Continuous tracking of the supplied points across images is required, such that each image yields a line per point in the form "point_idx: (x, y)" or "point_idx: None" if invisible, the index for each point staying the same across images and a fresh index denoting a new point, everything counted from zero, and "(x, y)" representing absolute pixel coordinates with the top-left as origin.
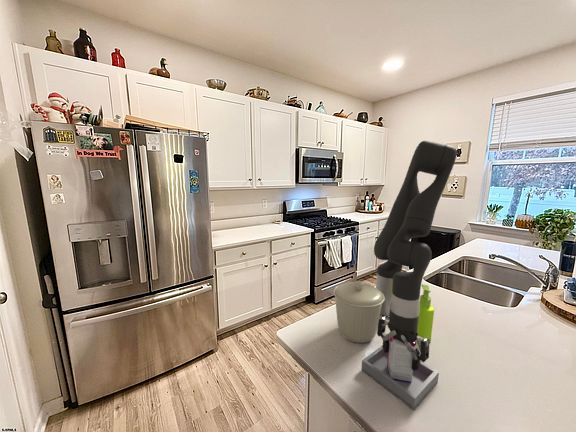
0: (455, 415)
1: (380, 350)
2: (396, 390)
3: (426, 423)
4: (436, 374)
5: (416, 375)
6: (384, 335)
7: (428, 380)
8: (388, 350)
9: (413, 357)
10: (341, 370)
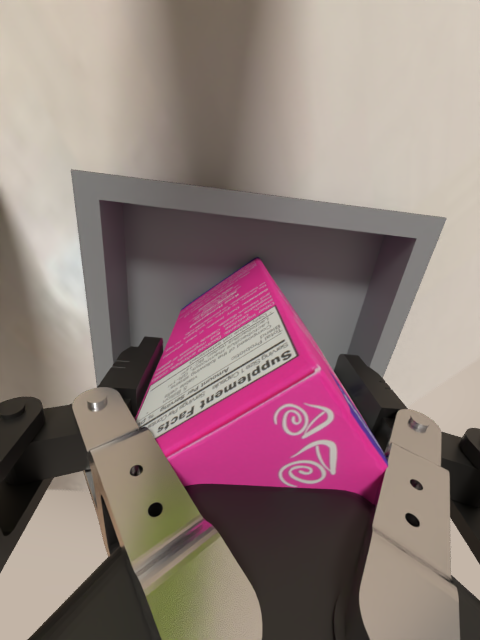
0: (461, 333)
1: (107, 304)
2: None
3: None
4: (432, 251)
5: (314, 266)
6: (78, 465)
7: (394, 327)
8: (161, 351)
9: None
10: None
